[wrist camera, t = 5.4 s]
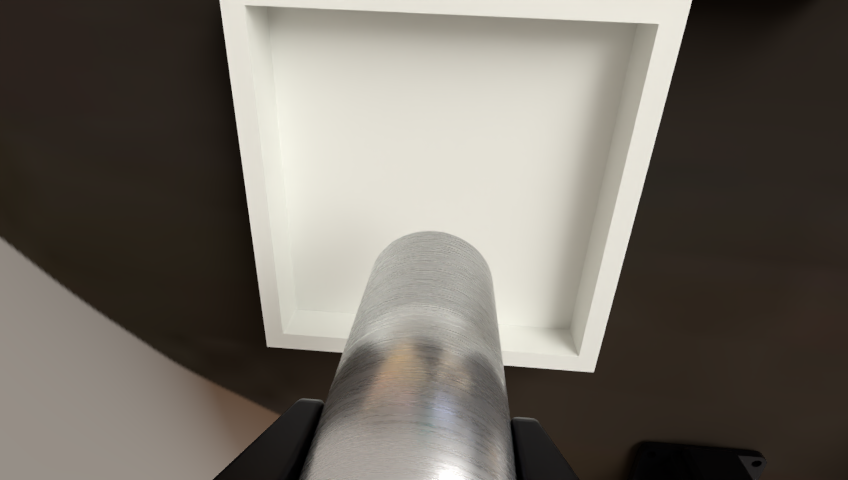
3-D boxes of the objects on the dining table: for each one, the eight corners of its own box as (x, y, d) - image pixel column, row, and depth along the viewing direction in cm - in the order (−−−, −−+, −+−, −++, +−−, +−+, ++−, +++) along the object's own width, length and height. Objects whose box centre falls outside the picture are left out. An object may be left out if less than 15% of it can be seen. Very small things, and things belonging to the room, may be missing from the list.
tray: (580, 336, 22) (593, 372, 20) (285, 314, 23) (267, 346, 21) (660, -2, 16) (693, -5, 14) (249, -19, 17) (216, -25, 14)
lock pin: (486, 340, 13) (532, 919, 4) (370, 331, 13) (216, 874, 5) (499, 235, 11) (603, 799, 3) (370, 226, 11) (145, 742, 3)
